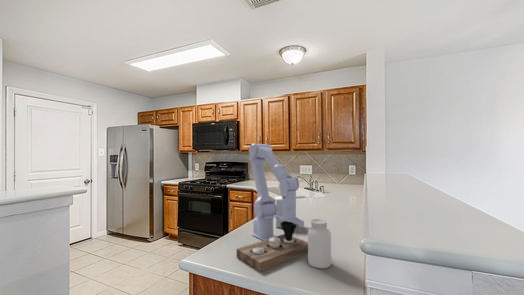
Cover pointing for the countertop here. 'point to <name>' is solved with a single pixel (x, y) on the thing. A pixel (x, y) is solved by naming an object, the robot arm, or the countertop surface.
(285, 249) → the knob board
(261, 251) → the outer knob
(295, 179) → the robot arm
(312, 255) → the pill bottle
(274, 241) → the middle knob
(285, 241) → the outer knob
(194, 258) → the countertop surface
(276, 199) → the supplement box
